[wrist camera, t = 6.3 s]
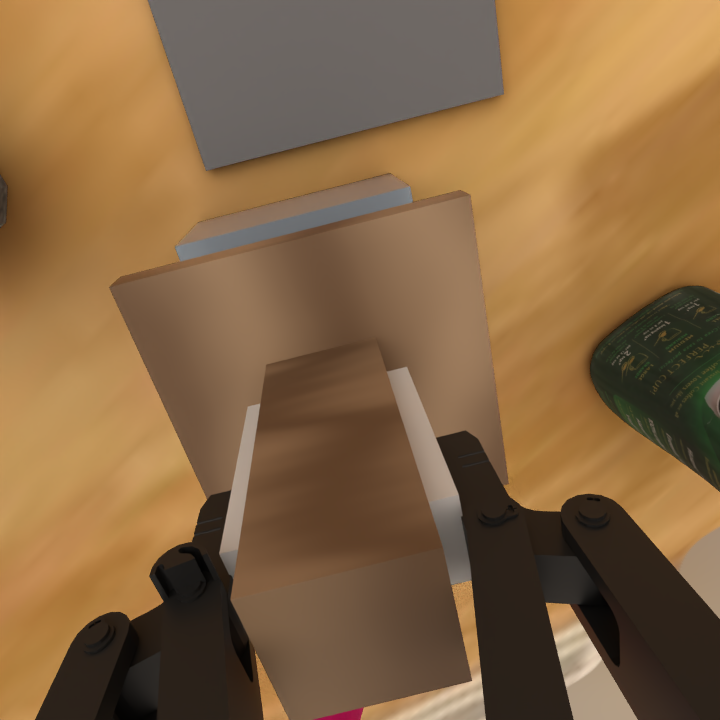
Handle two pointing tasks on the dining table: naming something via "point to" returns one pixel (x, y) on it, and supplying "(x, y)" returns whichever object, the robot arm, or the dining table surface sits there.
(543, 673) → the robot arm
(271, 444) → the lid
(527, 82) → the dining table surface
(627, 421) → the coffee jar
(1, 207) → the mortar and pestle
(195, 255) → the blue-grey square box
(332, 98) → the mat
